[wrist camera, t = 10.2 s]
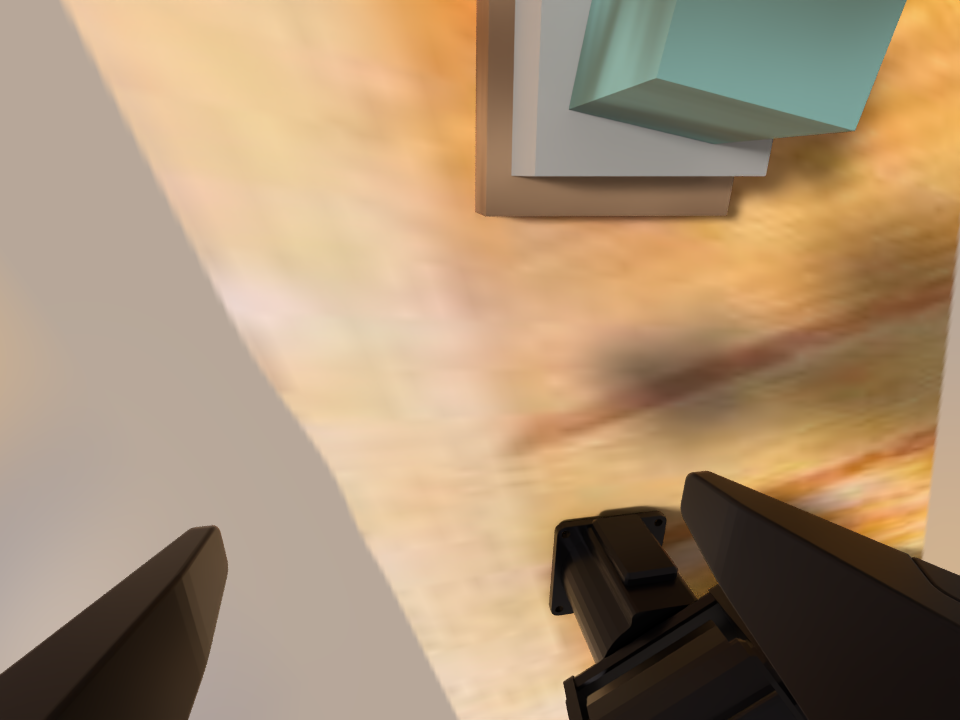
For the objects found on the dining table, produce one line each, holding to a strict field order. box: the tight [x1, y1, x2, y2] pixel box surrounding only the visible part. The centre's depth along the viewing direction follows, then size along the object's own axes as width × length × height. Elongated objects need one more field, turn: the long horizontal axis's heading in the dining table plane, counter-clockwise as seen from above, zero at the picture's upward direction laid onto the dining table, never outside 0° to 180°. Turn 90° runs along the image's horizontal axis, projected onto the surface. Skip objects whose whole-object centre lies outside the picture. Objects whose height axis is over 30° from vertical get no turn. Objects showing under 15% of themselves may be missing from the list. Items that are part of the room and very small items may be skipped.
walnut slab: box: [475, 0, 734, 216], centre depth 18 cm, size 10×10×3 cm
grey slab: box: [511, 0, 773, 176], centre depth 15 cm, size 8×8×3 cm
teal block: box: [569, 0, 906, 144], centre depth 12 cm, size 5×5×5 cm
